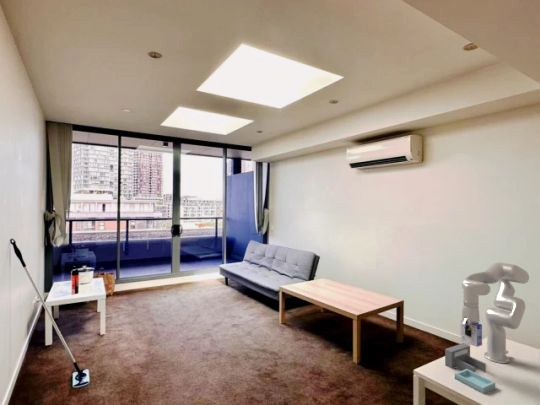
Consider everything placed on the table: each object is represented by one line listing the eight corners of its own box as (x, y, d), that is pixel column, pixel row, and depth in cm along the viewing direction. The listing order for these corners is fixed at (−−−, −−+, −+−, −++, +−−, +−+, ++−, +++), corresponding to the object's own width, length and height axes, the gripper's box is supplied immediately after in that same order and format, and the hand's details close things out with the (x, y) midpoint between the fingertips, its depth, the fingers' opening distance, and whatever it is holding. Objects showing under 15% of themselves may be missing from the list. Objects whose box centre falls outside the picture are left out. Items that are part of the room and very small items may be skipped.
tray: (466, 373, 177) (466, 368, 177) (495, 388, 163) (495, 382, 163) (454, 378, 172) (454, 373, 172) (483, 393, 158) (483, 388, 158)
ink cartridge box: (482, 345, 178) (482, 320, 178) (477, 347, 175) (476, 322, 175) (465, 338, 187) (465, 315, 186) (460, 340, 184) (459, 316, 184)
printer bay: (463, 358, 194) (463, 343, 194) (489, 370, 180) (489, 353, 180) (445, 365, 186) (445, 349, 186) (470, 378, 172) (470, 360, 172)
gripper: (473, 300, 188) (473, 329, 188) (455, 304, 180) (455, 335, 181) (486, 303, 181) (486, 334, 181) (468, 308, 174) (468, 340, 174)
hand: (471, 334), depth 181 cm, fingers closed on ink cartridge box, 5 cm apart
